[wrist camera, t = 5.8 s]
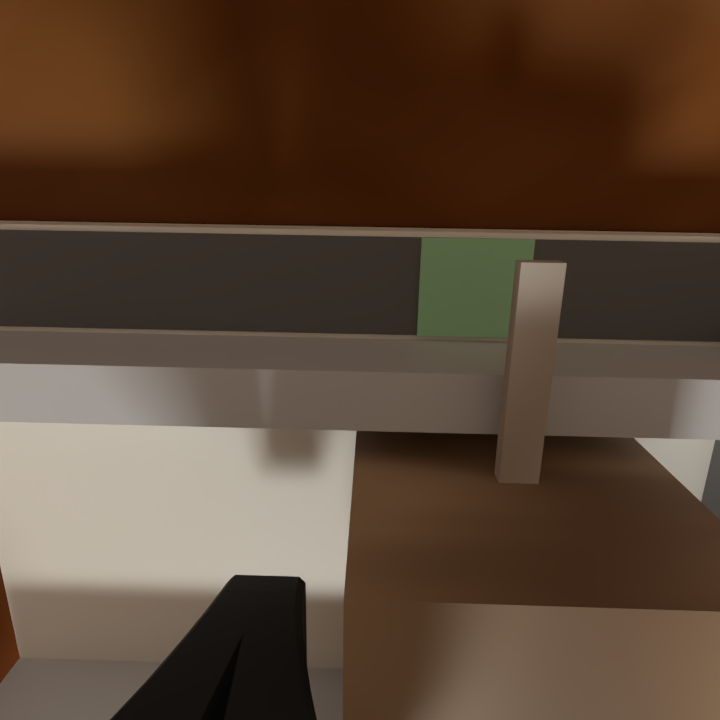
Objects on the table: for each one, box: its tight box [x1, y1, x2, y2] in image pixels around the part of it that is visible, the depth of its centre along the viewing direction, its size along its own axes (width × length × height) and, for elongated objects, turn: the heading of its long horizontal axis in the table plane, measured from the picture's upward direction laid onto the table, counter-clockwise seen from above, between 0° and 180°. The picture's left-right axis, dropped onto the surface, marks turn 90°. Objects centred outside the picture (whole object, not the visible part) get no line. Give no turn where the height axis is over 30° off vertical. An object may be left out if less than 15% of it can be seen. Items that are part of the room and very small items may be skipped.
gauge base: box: [0, 220, 720, 720], centre depth 10 cm, size 18×13×6 cm
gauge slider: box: [343, 260, 720, 720], centre depth 9 cm, size 5×9×5 cm, turn 179°
